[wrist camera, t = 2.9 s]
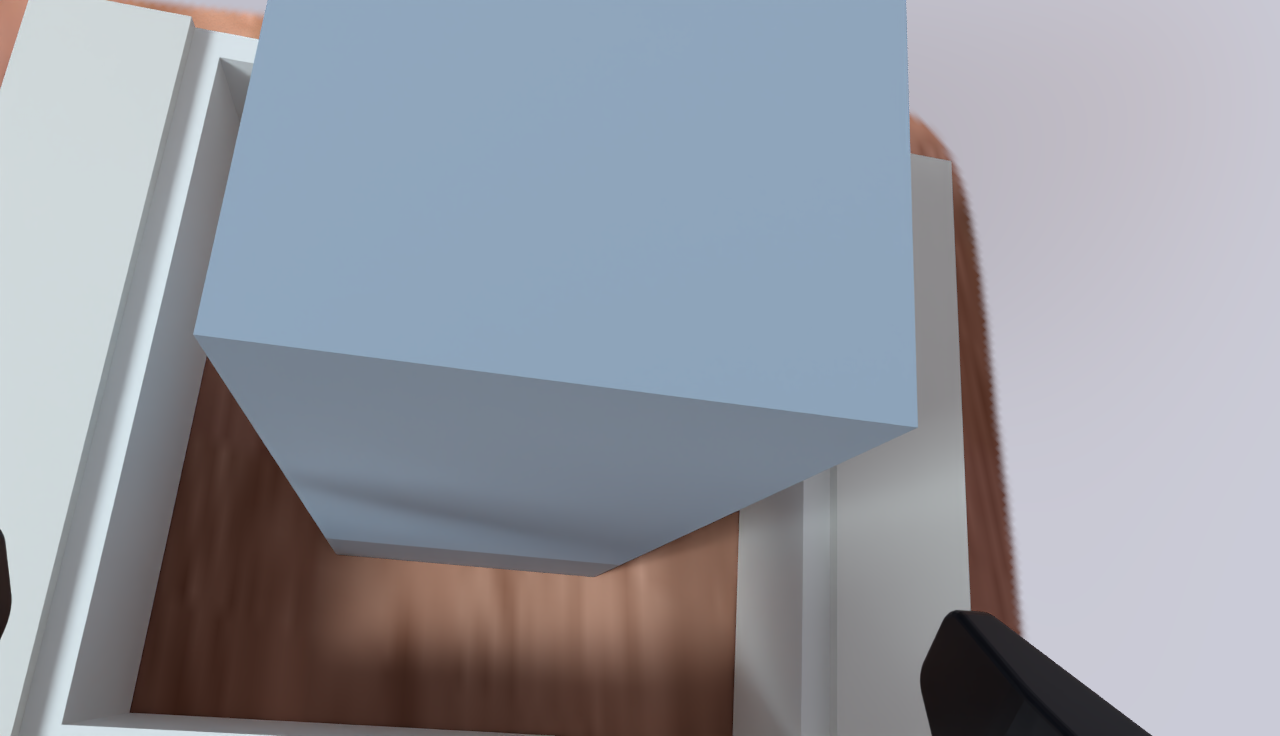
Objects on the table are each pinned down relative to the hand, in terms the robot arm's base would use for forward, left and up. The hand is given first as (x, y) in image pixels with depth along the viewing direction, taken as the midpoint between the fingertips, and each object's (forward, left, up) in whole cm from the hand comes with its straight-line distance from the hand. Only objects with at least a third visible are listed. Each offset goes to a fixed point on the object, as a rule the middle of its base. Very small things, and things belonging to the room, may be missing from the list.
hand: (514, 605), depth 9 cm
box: (+3, -2, -10) cm, 10 cm away
